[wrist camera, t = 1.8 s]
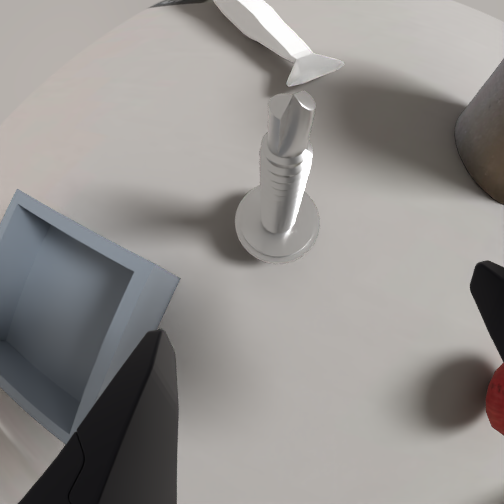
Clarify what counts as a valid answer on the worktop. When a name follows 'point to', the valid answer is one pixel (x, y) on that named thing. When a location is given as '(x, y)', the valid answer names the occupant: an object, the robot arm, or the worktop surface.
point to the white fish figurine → (277, 38)
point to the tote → (69, 312)
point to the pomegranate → (496, 400)
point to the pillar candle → (485, 135)
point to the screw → (282, 186)
